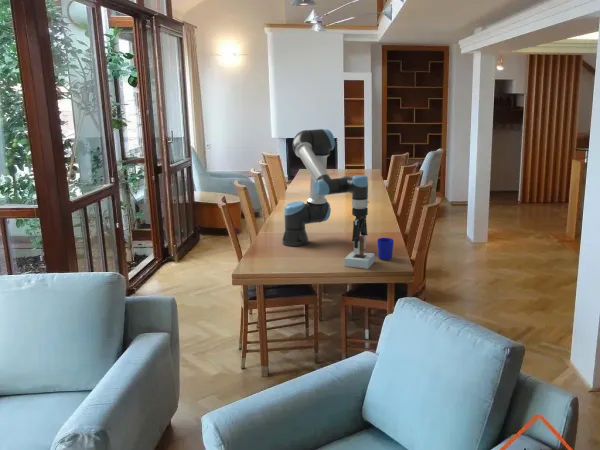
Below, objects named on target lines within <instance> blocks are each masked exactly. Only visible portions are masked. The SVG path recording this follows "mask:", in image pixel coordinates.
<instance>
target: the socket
mask: <svg viewBox="0 0 600 450" xmlns="http://www.w3.org/2000/svg"><path fill="white" fill-rule="evenodd" d="M375 258H376V254H375V253H370V252H369V253H368V252H364V258H356V254H354V251H351V252H350V253H349V254H348V255H346V257H344V267H350V268H359V269H366V270H369V268H371V266H372V265H373V264H374V263H375V261H376V259H375Z"/></svg>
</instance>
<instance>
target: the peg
mask: <svg viewBox="0 0 600 450" xmlns="http://www.w3.org/2000/svg"><path fill="white" fill-rule="evenodd" d="M359 241H360V254H356V258H364V253H365V248H364V236H359Z"/></svg>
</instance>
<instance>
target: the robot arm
mask: <svg viewBox="0 0 600 450" xmlns="http://www.w3.org/2000/svg"><path fill="white" fill-rule="evenodd" d="M334 137H335V136H334V135H333V132H332V131H331V130H329V129H328V128H327V129H324V128H318V129H317V128H316V129H305V130H301V131H299V132H298V133H297V134H296V135H295V136H294V138H293V140H292V150H293V152H294V154H295V156H296V157H297V158H300V160H301V161H302V164H303V165H304V166H305V168H306V170H307V171H308V173H309V174H310V180H309V181H310V183H309V184H310V185H309V197H307V199H306V203H305V202H304V201H300V200H299V201H292V202H290V203H287V204H286V205H284V210H283V211H284V213H283V215H284V232H283V236H282V240H281V241H282V245H284V246H285V247H286V246H287V247H302V246H306V245H308V244H309V236H308V234H307V231H306V225H310V224H317V223H322V222H326V221H328V220H329V218H330V217H331V213H332V212H331V204H330V202H328V200H327V198H326V197H325V196H327V195H328V196H329V195H337V194H339V195H340V194H345V193H346V194H347V193H350V194H351V195H352V196H351V199H352V200H351V207H352V208H351V211H352V213H351V215H352V216H354V217H355V219H354V220H353V222H352V223H353V227H352V239H351V241H352V242H353V252H354V254H360V241H359V236H364V249H366V247H367V246H366V245H367V242H366V241H367V240H366V239H367V236H368V234H369V233H368V226H367V225H368V223H367V216H368V213H369V212H368V211H369V209H368V204H369V200H368V198H369V190H368V189H369V181H368V180H369V179H368V176H367V175H363V174H357V175H353V176H349V175H348V176H342V177H339V178H338V177H337V178H331V177H330V175H329V174H328V172H327V164H328V163H327V161H328V157H329V156H330V155H331V151H334V148H335V145H336V142H335V138H334Z"/></svg>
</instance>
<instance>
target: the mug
mask: <svg viewBox="0 0 600 450" xmlns="http://www.w3.org/2000/svg"><path fill="white" fill-rule="evenodd" d="M394 241H395V240H394V239H393V238H391V237H381V238H378V239H377V254H378V255H377V256H378V258H379V259H380V260H382V261H387V260H388V261H389V260H391V259H392V258H393V251H394V250H393V249H394Z"/></svg>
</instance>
